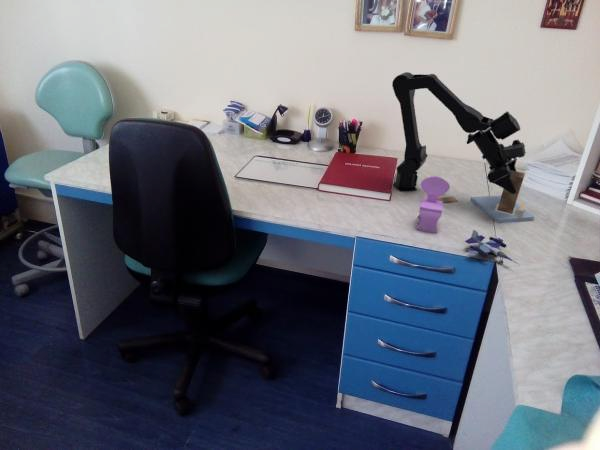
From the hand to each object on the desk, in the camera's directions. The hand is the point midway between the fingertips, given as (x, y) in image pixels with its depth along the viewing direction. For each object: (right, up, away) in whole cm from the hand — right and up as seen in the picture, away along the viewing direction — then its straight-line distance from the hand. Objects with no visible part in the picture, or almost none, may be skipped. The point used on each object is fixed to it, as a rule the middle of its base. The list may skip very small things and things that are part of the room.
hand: (516, 188), depth 148 cm
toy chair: (-30, -12, -5) cm, 33 cm away
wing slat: (-20, -4, +11) cm, 23 cm away
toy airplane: (-17, -21, -19) cm, 33 cm away
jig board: (-2, -7, +7) cm, 10 cm away
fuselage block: (-2, -7, +4) cm, 8 cm away
